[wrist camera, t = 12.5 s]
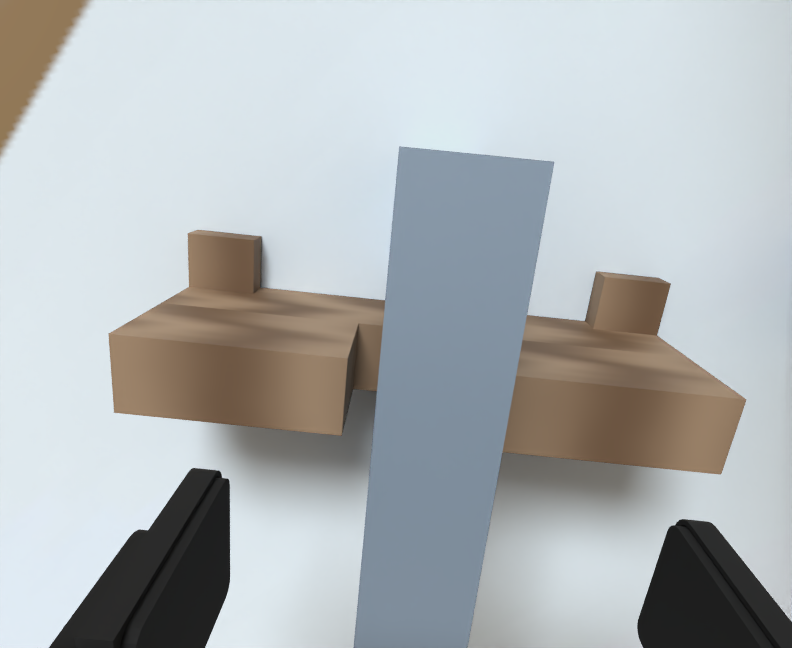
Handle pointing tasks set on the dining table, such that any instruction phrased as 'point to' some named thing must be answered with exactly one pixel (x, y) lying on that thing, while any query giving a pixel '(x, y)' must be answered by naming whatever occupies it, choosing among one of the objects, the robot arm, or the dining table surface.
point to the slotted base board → (360, 357)
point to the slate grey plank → (445, 387)
